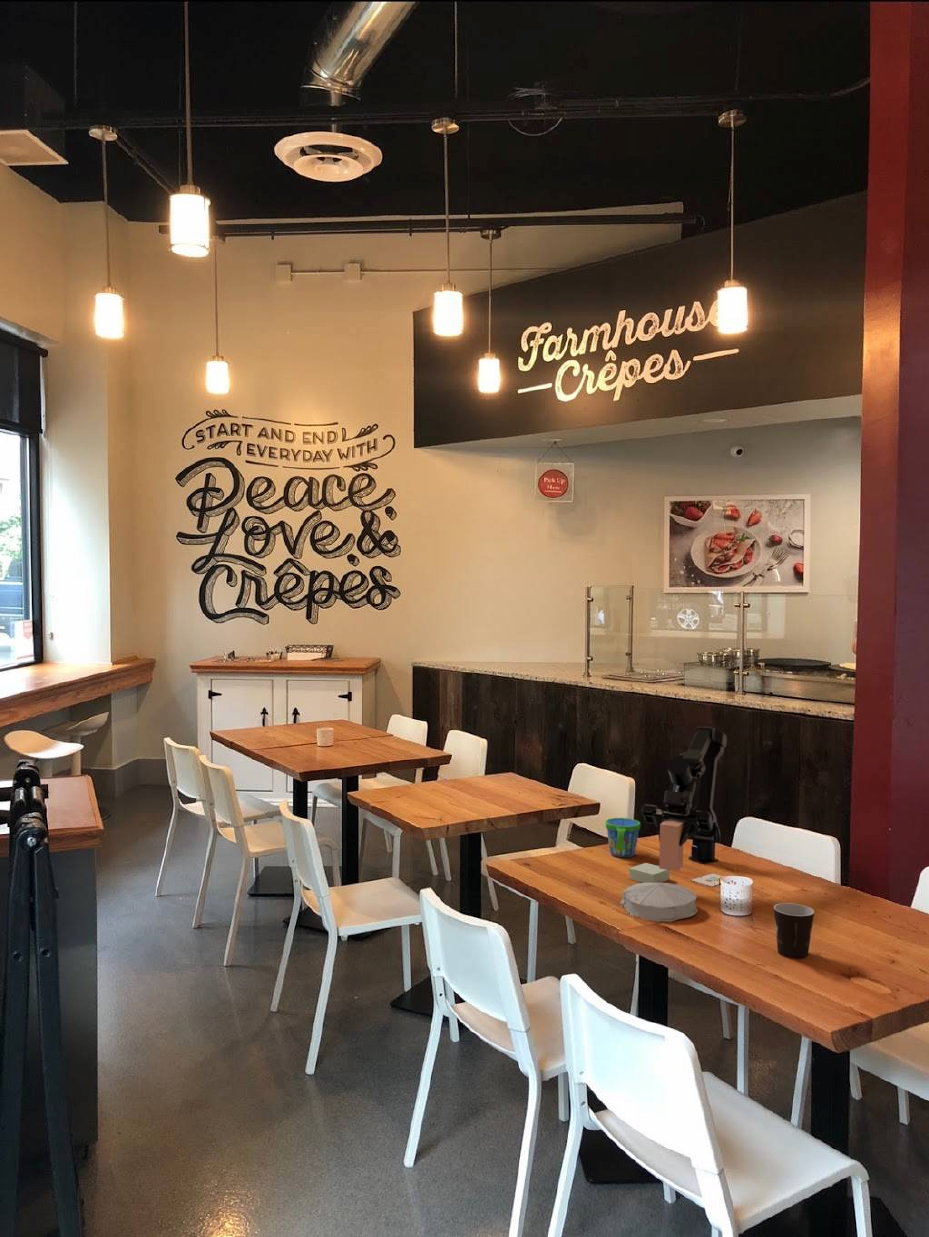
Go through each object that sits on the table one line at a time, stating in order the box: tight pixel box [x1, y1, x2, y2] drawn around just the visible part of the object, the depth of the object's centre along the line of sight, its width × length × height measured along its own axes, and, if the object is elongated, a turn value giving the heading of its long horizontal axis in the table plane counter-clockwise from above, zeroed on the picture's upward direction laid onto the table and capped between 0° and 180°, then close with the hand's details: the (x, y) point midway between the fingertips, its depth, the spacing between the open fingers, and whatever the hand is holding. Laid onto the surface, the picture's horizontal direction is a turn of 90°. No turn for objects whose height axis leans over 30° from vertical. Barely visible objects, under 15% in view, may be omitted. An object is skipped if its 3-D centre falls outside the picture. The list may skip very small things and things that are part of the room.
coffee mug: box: [773, 902, 815, 960], centre depth 215 cm, size 12×9×10 cm
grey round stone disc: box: [620, 882, 699, 923], centre depth 245 cm, size 20×20×7 cm
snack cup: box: [605, 817, 641, 858], centre depth 294 cm, size 16×10×10 cm
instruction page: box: [691, 873, 724, 888], centre depth 269 cm, size 10×7×1 cm
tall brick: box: [658, 819, 685, 872], centre depth 258 cm, size 5×5×12 cm
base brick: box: [628, 862, 671, 883], centre depth 269 cm, size 8×8×3 cm
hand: (670, 844), depth 257 cm, fingers closed on tall brick, 5 cm apart
